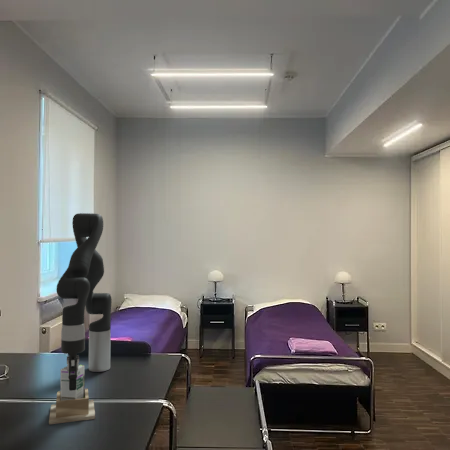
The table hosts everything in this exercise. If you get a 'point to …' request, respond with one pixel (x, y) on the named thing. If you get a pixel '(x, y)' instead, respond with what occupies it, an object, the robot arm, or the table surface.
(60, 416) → the wooden square holder
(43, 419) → the table surface
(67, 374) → the syrup box
